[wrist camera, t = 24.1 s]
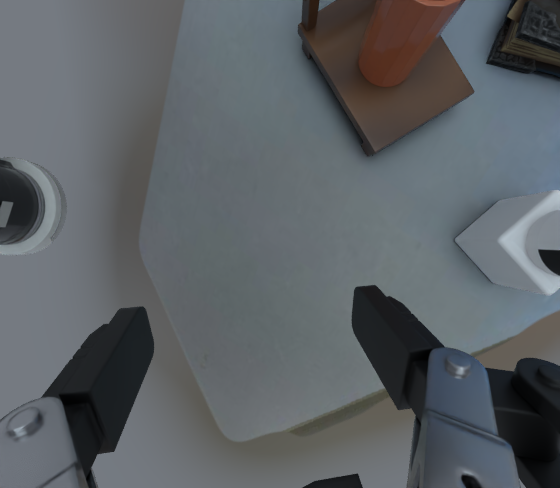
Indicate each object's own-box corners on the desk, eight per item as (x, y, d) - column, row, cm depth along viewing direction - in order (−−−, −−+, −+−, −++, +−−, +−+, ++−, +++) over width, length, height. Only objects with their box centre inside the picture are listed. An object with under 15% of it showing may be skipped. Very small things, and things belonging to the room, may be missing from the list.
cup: (348, 73, 29) (379, -16, 19) (373, 20, 29) (418, -97, 19) (399, 96, 29) (459, 20, 19) (425, 44, 28) (499, -62, 18)
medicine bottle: (539, 244, 32) (693, 247, 20) (492, 284, 32) (615, 312, 20) (498, 199, 32) (626, 174, 20) (451, 239, 32) (549, 240, 20)
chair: (297, 47, 32) (301, -83, 19) (384, -9, 32) (450, -181, 19) (366, 161, 32) (418, 108, 19) (455, 107, 32) (570, 16, 19)
